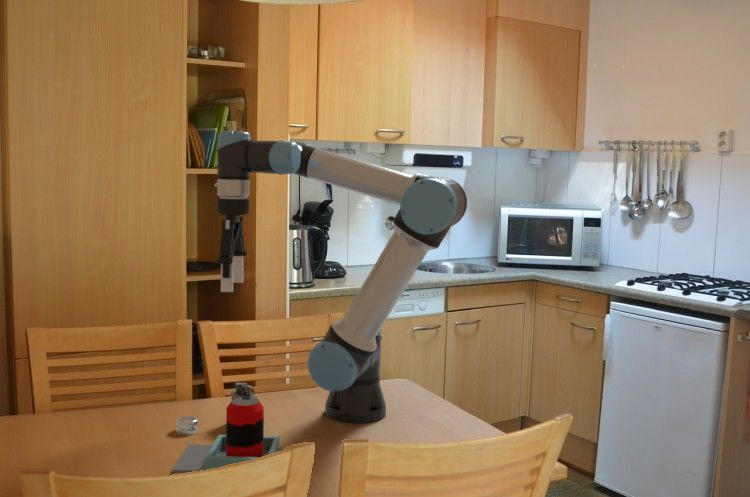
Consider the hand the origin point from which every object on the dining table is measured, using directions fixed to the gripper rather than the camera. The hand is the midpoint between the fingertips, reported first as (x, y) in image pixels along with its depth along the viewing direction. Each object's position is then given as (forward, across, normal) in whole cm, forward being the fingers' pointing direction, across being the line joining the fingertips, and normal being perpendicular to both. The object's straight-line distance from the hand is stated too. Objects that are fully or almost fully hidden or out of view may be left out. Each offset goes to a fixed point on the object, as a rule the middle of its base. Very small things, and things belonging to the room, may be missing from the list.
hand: (232, 287), depth 188 cm
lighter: (+32, +6, +4) cm, 33 cm away
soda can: (+31, +29, +8) cm, 43 cm away
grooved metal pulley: (+32, +11, -8) cm, 35 cm away
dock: (+32, +29, +5) cm, 43 cm away
